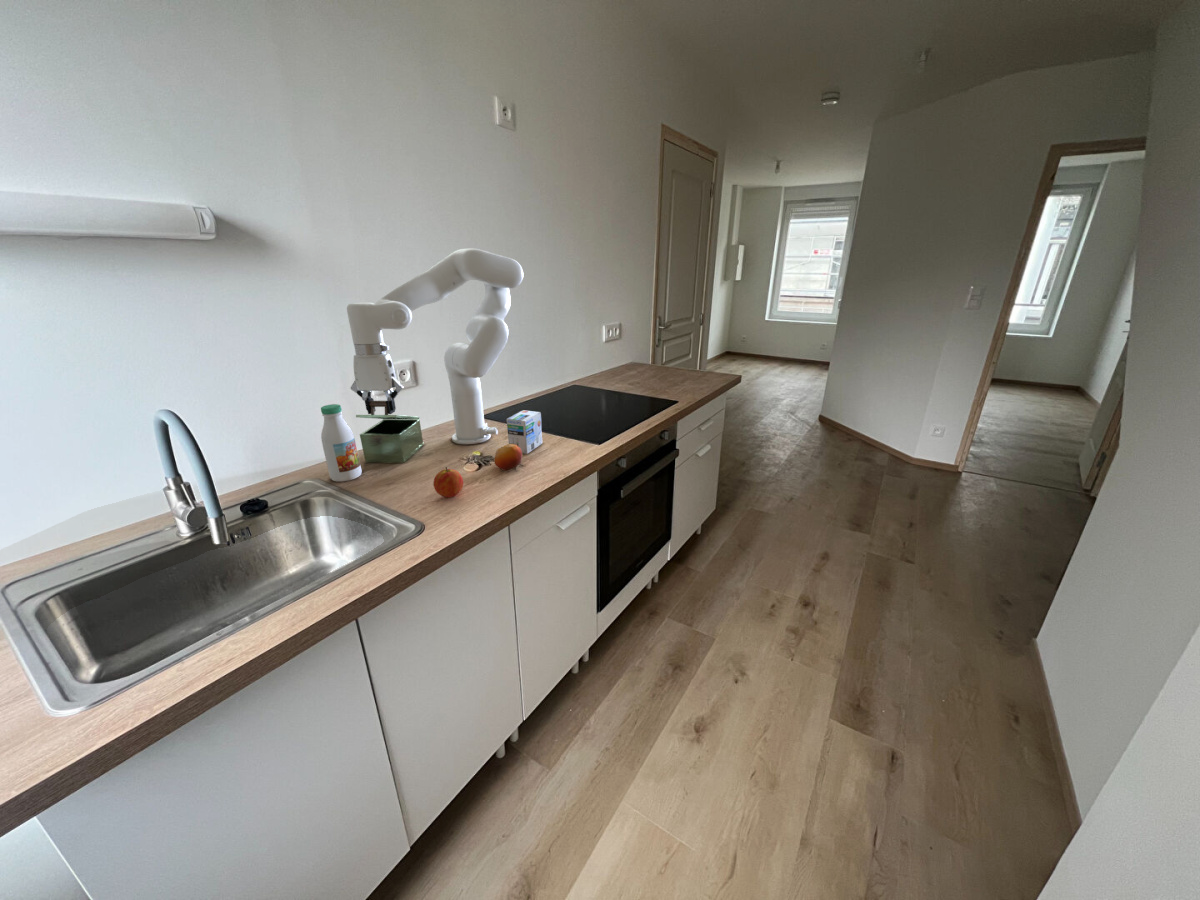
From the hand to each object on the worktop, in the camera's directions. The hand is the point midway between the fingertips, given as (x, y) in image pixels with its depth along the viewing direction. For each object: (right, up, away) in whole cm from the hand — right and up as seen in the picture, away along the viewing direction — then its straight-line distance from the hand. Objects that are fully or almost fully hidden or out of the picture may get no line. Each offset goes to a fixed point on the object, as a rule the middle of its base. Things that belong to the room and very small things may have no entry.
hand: (381, 412), depth 131 cm
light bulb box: (+40, -10, +13) cm, 43 cm away
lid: (0, -1, +5) cm, 5 cm away
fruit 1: (+26, -23, -18) cm, 39 cm away
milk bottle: (-6, -18, -7) cm, 21 cm away
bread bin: (0, -12, +9) cm, 15 cm away
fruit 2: (+37, -16, -1) cm, 41 cm away
